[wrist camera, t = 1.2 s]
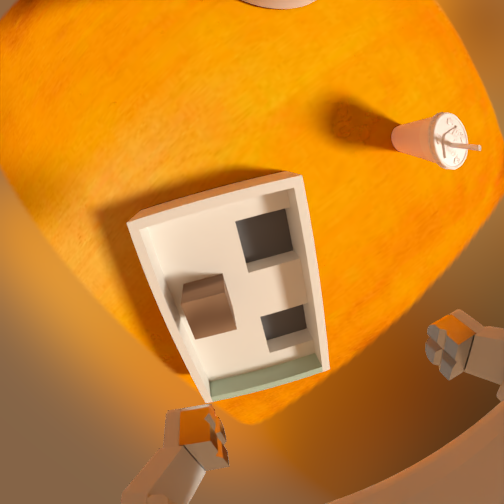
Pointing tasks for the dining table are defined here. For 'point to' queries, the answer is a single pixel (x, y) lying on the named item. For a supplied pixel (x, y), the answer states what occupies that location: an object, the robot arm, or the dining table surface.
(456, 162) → the smoothie
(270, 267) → the box
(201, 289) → the walnut block
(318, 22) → the dining table surface
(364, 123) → the dining table surface
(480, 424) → the robot arm
